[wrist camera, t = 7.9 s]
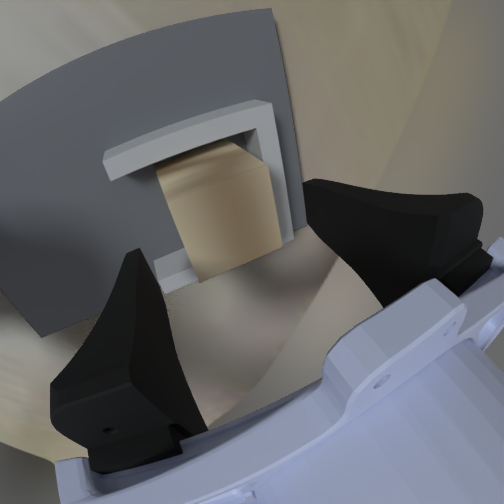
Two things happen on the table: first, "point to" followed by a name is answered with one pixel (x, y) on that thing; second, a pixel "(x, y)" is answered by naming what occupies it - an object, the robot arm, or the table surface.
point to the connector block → (221, 206)
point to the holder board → (132, 157)
